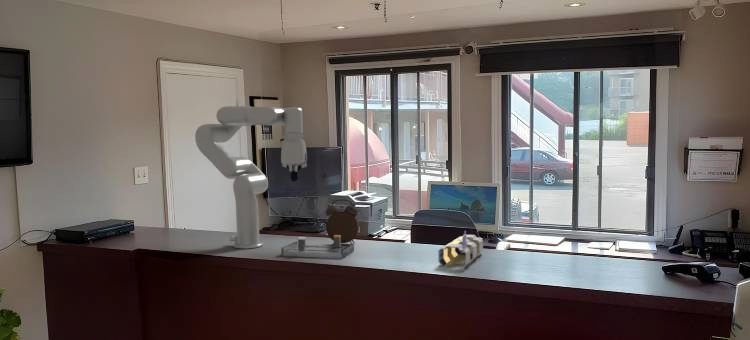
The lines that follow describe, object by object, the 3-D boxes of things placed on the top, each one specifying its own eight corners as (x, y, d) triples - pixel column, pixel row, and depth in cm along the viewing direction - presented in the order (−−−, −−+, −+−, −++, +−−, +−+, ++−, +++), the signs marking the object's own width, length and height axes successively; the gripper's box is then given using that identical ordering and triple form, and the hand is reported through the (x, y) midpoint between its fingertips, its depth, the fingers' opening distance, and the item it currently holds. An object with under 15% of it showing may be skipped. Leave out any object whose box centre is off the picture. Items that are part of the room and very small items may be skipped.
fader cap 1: (298, 249, 221) (297, 238, 220) (299, 248, 222) (299, 237, 222) (303, 249, 220) (303, 238, 220) (305, 248, 222) (305, 237, 222)
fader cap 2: (333, 247, 224) (333, 235, 224) (335, 246, 226) (335, 235, 226) (339, 247, 223) (339, 236, 223) (341, 246, 225) (340, 235, 225)
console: (281, 256, 220) (281, 248, 220) (295, 249, 233) (295, 241, 233) (343, 258, 213) (343, 250, 213) (354, 251, 227) (353, 243, 226)
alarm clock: (360, 242, 244) (359, 198, 243) (358, 246, 237) (357, 200, 236) (328, 242, 246) (327, 198, 245) (325, 246, 239) (324, 200, 237)
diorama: (466, 269, 194) (466, 232, 194) (438, 267, 199) (438, 231, 198) (482, 255, 217) (482, 222, 216) (457, 253, 221) (457, 221, 221)
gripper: (273, 137, 228) (274, 181, 229) (307, 137, 224) (308, 182, 225) (281, 137, 235) (282, 180, 236) (314, 136, 231) (314, 180, 232)
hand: (294, 181), depth 230 cm, fingers closed
